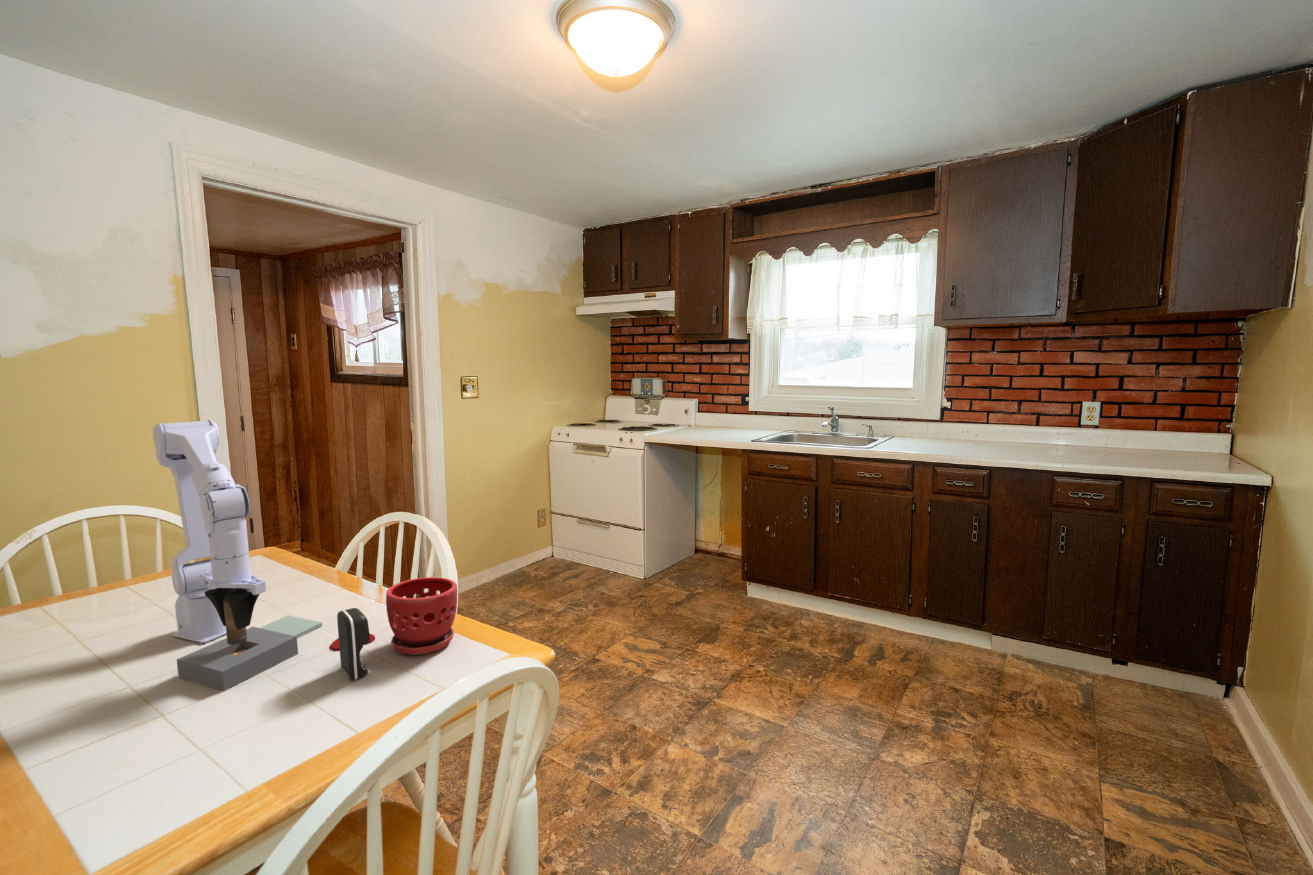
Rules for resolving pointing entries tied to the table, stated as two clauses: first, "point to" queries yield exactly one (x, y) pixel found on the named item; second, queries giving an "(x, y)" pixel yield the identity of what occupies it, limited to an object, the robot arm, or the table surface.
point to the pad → (293, 626)
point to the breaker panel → (237, 659)
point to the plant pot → (421, 614)
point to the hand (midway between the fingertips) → (236, 625)
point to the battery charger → (352, 641)
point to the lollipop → (336, 647)
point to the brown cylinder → (233, 627)
